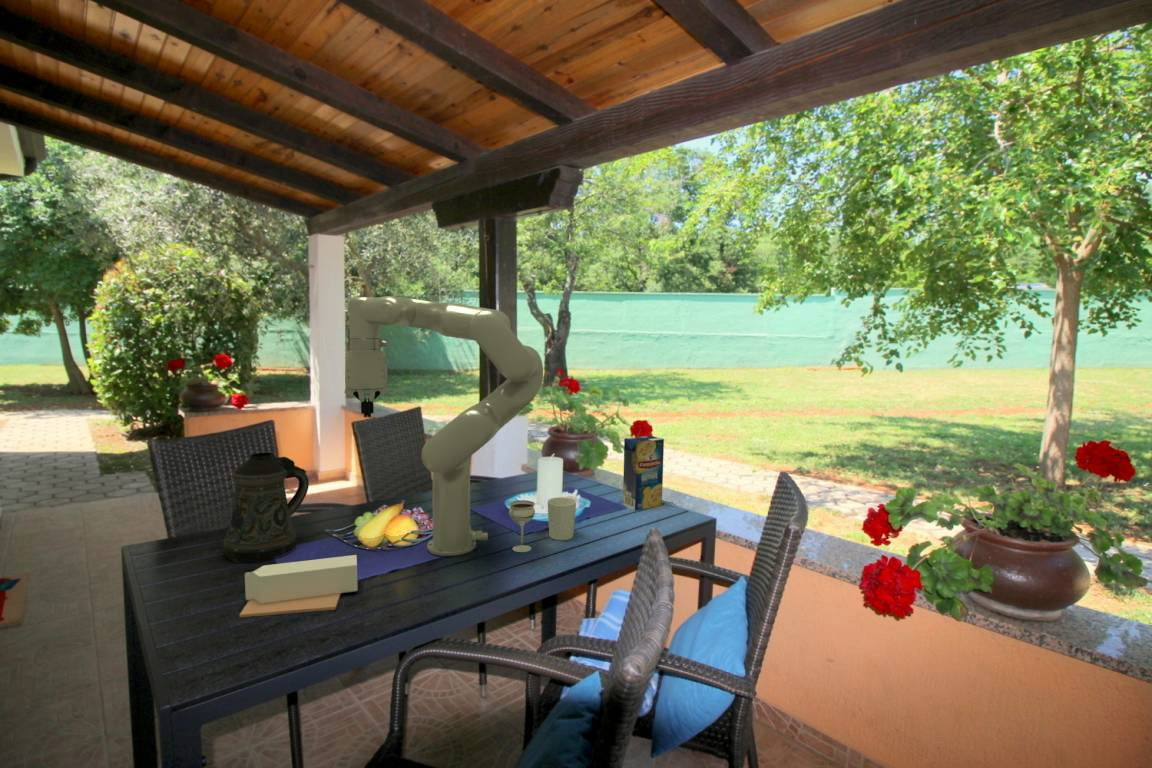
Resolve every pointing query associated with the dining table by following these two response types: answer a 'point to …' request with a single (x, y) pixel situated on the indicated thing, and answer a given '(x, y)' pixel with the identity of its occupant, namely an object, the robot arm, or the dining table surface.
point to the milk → (302, 579)
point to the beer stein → (263, 509)
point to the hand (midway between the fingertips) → (367, 416)
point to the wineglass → (522, 518)
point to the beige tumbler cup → (561, 518)
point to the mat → (291, 606)
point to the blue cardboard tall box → (643, 472)
